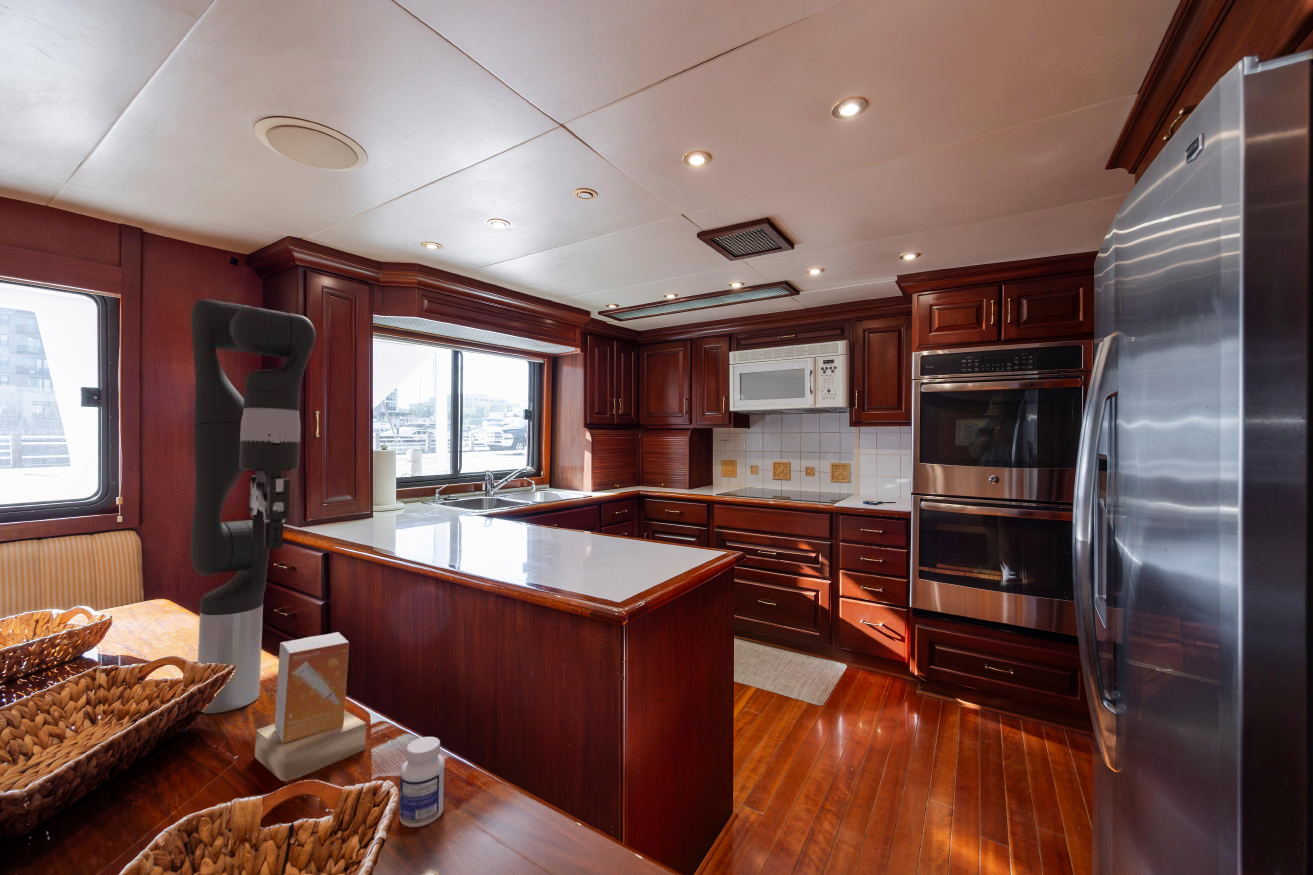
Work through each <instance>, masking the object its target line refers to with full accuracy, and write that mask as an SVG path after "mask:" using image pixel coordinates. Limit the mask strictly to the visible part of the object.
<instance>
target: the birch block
mask: <svg viewBox="0 0 1313 875" xmlns="http://www.w3.org/2000/svg"><path fill="white" fill-rule="evenodd" d="M366 734H367V723H366V722H365V721H364V720H362V719H360V718H359V717H357V716H355V715H354V714H353V713H350V712H348V711H347V710H345V712H344V725H343V726H342V727H339V728H334V729H331V730H327V731H323V732H320V733H316V734H312V735H309V736H305V737H302V738H298V739H295V740H292V741H289V742H285V743H283V742H282V740H281V739H280V737H279V735H278V733H277V731H276V729H275V723H272V724H269V725H266V726H262V727H261V728H258V729H256V730H255V746H254V747H255V749H254V758H255V759H257V761H258V762H260V763H261V764H262V765H263V766H264V767H265V768H266V769H267V770H269V771H270V772H271V773H272V774H273V775H274V776H275V777H277V779H279V780H280V781H281V780H282V781H286V782H287V781H288V780H290V779H294V778H296V777H300V778H302V777H304V776H306V774H307V775H309V774H312V773H313V772H316V771H318V770H321V769H322V768H323V769H324V768H325V767H328V766H330V765H333V764H335V763H337V762H340V761H341V760H344V759H346V758H348V757H351V756H354V755H357V754H358V753H361V752H362V751H364V750H365V751H366V739H367V738H366V737H367V736H366ZM303 775H304V776H303ZM301 776H302V777H301ZM282 781H281V782H282Z"/></svg>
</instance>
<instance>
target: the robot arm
mask: <svg viewBox="0 0 1313 875" xmlns="http://www.w3.org/2000/svg"><path fill="white" fill-rule="evenodd" d="M190 317H191V318H190V319H191V320H190V321H191V322H190V327H191V328H190V330H191V341H192V342H191V343H192V352H193V354H192V356H193V366H194V381H195V382H194V384H195V389H194V416H193V417H194V418H193V420H194V421H193V446H194V447H193V449H194V450H193V452H194V473H195V474H194V476H195V477H194V478H195V483H194V485H195V486H194V487H195V488H194V489H195V490H194V503H193V504H194V505H193V513H192V514H193V518H192V526H191V537H190V538H191V540H190V541H191V542H190V557H191V558H190V560H191V563H192V567H193V569H194V572H196V573H197V574H198V575H201V576H211V575H212V576H213V575H217V574H218V575H219V574H225V573H233V572H236V574H235V575H234V577H232V579H230V580H229V581H227V582H226V583H224V584H223V585H221V586H219V587H217V588H215V589H213V590H210V591H208V592H206V593H205V594H204V595H203V596H202V597H201V599H200V603H199V624H198V647H197V648H198V649H197V664H198V663H201V664H207V663H219V664H226V665H236V670H235V672H234V674H233V675H232V677H231V678H230V679H229V681H228V682H227V683H226V684H225V686H224V687H223V688H222V689H221V690H220V691H219V692H218V693H217V694H216V696H215V697H214V700H213V701H212V702H211V703H210V704H209V705H208V706H207V707H206V708H205V710H204V712H203V713H202V714H219V713H225V712H229V711H232V710H236V709H240V708H243V707H245V706H247V705H250V704H252V703H253V702H255V701H256V700H257V699H258V698H259V697H260V688H261V687H260V684H261V668H262V666H261V664H262V638H263V637H262V636H263V613H264V612H263V610H264V595H265V591H266V587H267V574H268V562H269V558H270V557H269V556H270V550H275V549H281V548H283V542H284V523H285V522H286V520H289V518H290V485H291V480H290V478H286V477H285V478H284V474H283V472H284V471H296V470H298V469H299V468H300V455H301V454H300V451H301V450H300V449H301V418H300V405H301V404H300V400H301V386H302V380H303V376H304V373H305V369H306V366H307V364H308V361H309V358H310V356H311V354H312V352H313V349H314V346H315V342H316V338H317V334H316V330H315V326H314V325H313V323H312V321H311V320H309V319H308V317H306V316H304V315H301V314H295V313H291V312H290V313H289V312H284V311H278V310H272V309H267V308H262V307H256V306H249V305H246V304H240V303H233V302H227V301H222V300H221V301H220V300H214V299H209V298H208V299H205V298H201V299H198V300H196V301H195V302H194V304H193V306H192V309H191V316H190ZM217 350H219V351H228V352H229V351H230V352H238V353H248V354H254V355H263V356H270V357H278V358H284V359H285V360H284V364H283V365H282V366H281V367H279V368H275V369H274V368H273V369H272V368H271V369H257V370H253V371H249V372H248V373H247V374H246V375H245V378H244V389H243V391H244V393H243V396H242V395H241V393H240V392H239V391H238V390H237V389H236V388H235V386H234V385H233V384H232V383H231V381H230V380H229V378H228V377H227V375H226V374H225V371H224V370H223V367H222V366H221V363H220V361H219V356H218V353H217ZM245 471H256V473H255V474H256V475H250V477H249V482H250V486H249V503H248V509H247V510H248V512H249V513H250V516H251V518H252V519H249V520H248V519H247V520H234V521H223V522H222V512H223V508H224V505H225V501H226V499H227V497H228V495H229V492H230V491H231V489H232V488H233V486H234V485H235V483H236V482H237V480H239V478H240V477H241V475H242V474H243V473H244V472H245Z"/></svg>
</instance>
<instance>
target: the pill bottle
mask: <svg viewBox="0 0 1313 875" xmlns="http://www.w3.org/2000/svg"><path fill="white" fill-rule="evenodd" d="M440 751H441V741H440V739H439V738H438V737H435V736H423V737H419V738H416V739H414V740H412V741H411V742H409V743H408V744H407V746H406V752H405V753H406V754H405V757H406V758H405V759H406V761H404V763H403V764H402V766H401V768H400V780H399V783H400V784H399V816H398V817H399V821H400V823H401V824H402V825H404V826H405V827H409V828H419V827H423V826H427V825H428V824H431V823H433V822H434V821H436V820H438V818H439V817H440V816H441V815H442V813H443V811H444V808H445V777H446V776H445V774H446V773H445V772H446V769H445V768H446V763H445V762H446V761H445V758H444V757H443V756H442V754H441V752H440Z"/></svg>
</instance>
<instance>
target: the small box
mask: <svg viewBox="0 0 1313 875" xmlns="http://www.w3.org/2000/svg"><path fill="white" fill-rule="evenodd" d="M349 646H350V642H349V641H348V640H347V639H346V637H344V635H342V634H341V633H340V632H339V631H337V632H336V631H335V632H332V633H327V634H321V635H315V636H308V637H303V638H299V639H298V638H297V639H294V640H287V641H282V642H280V643H279V653H278V654H279V655H278V667H277V668H278V671H277V682H276V683H277V684H276V694H275V697H276V698H275V713H274V716H275V717H274V724H275V729H276V731H277V733H278V735H279V737H280V739H281V740H282V742H283V743H285V742H289V741H292V740H295V739H298V738H302V737H305V736H309V735H312V734H316V733H320V732H323V731H327V730H331V729H334V728H339V727H342V726H343V725H344V712H345V711H346V695H347V694H346V693H347V680H348V678H347V677H348V668H349V667H348V666H349V652H350V651H349V649H350V648H349Z"/></svg>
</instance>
